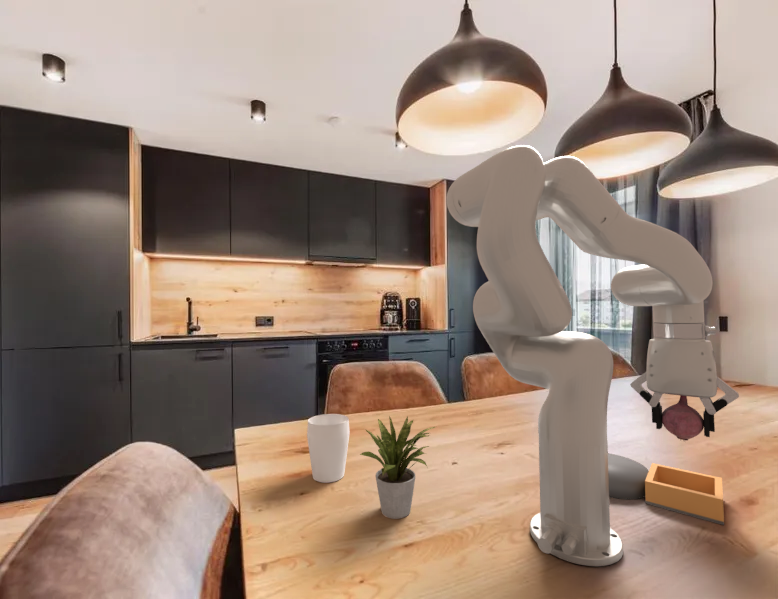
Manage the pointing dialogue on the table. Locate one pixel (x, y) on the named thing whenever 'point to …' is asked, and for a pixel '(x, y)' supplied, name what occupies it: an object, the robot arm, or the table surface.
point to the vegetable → (682, 420)
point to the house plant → (396, 468)
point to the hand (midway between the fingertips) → (682, 430)
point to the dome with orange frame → (667, 488)
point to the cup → (328, 446)
